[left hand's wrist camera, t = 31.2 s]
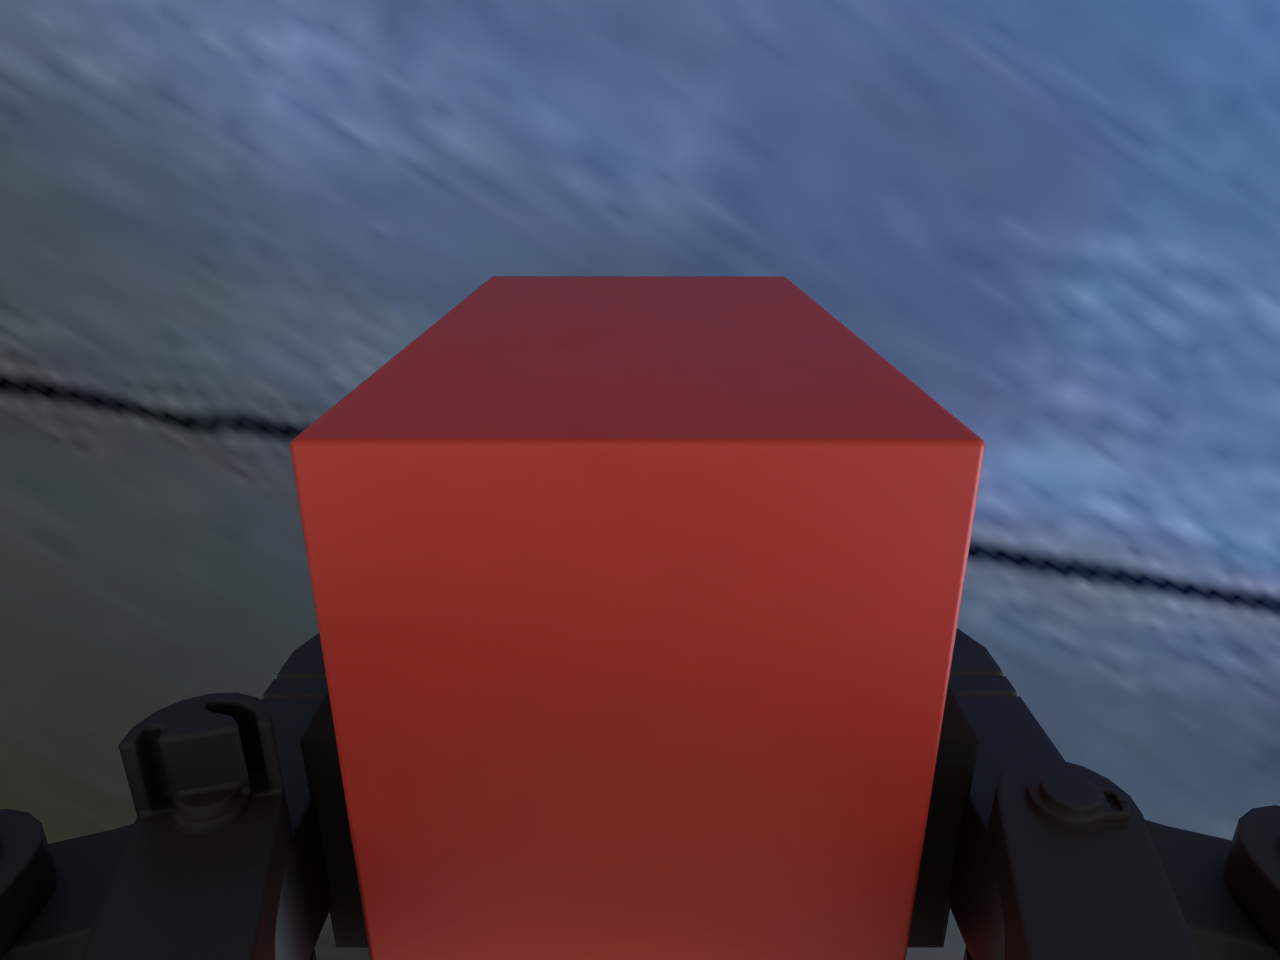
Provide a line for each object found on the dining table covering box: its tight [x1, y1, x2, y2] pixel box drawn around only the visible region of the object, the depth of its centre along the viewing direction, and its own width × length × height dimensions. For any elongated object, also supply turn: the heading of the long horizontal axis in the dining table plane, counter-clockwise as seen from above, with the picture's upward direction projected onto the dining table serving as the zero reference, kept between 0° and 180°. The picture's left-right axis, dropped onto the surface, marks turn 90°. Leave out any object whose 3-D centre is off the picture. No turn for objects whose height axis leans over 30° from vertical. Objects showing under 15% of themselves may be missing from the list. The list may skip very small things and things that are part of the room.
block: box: [290, 277, 985, 960], centre depth 12 cm, size 5×9×9 cm, turn 0°
